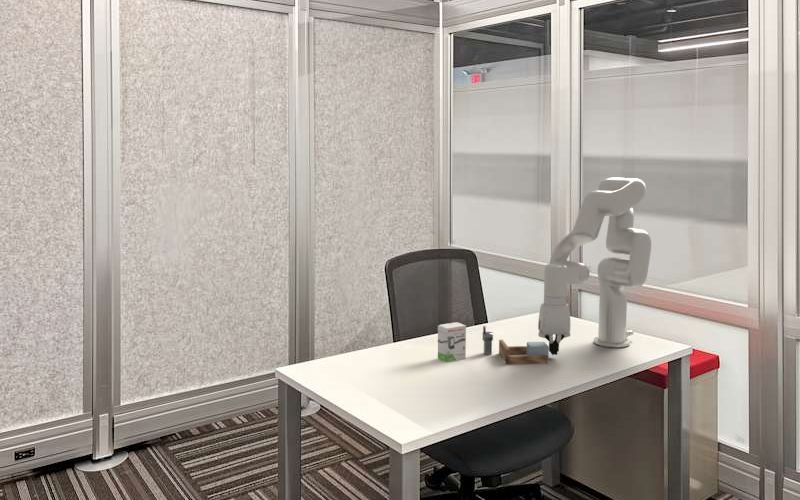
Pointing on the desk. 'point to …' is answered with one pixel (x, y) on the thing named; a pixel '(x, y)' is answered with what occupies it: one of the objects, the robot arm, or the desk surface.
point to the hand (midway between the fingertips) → (553, 353)
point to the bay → (528, 359)
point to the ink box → (451, 342)
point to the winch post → (487, 341)
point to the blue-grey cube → (537, 348)
